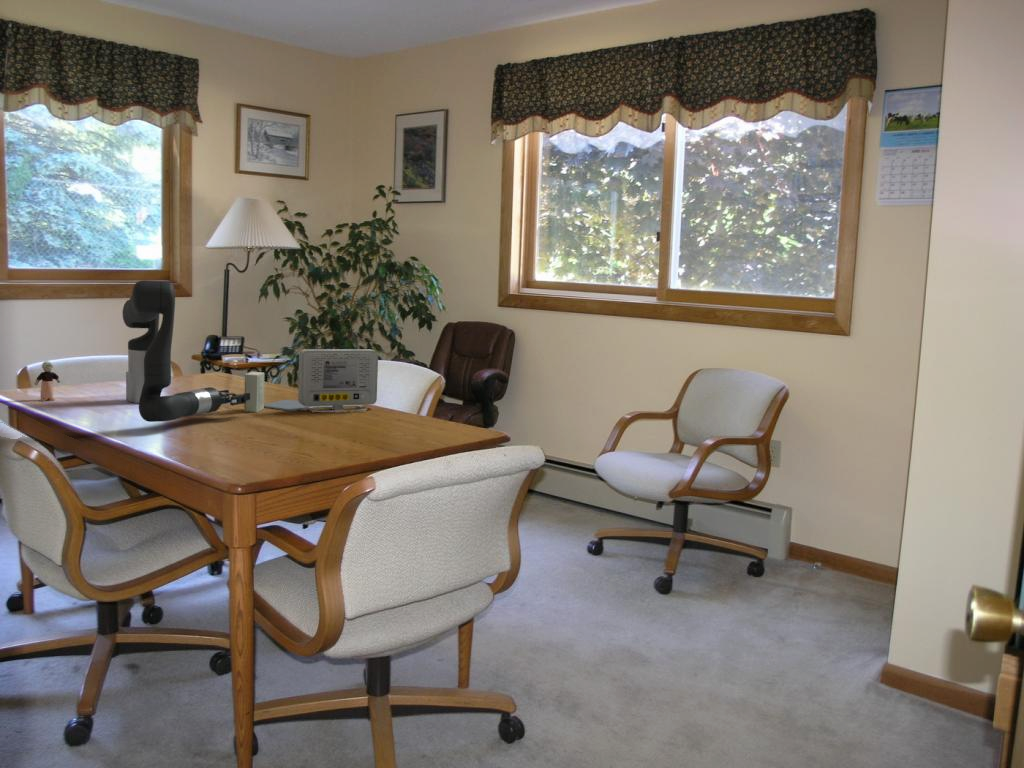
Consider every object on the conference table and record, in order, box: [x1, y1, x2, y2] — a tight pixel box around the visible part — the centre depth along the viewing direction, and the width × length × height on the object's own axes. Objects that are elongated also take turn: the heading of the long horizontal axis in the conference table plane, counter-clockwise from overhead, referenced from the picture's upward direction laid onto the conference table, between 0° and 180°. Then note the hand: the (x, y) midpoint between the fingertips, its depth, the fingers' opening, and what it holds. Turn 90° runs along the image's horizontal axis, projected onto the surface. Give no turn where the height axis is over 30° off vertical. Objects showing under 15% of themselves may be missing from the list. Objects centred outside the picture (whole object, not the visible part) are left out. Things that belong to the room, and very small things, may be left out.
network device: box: [297, 348, 379, 413], centre depth 291 cm, size 26×9×20 cm, turn 117°
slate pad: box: [264, 399, 314, 413], centre depth 293 cm, size 14×14×1 cm
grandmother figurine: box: [34, 360, 61, 402], centre depth 281 cm, size 8×4×13 cm, turn 150°
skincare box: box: [243, 371, 265, 413], centre depth 282 cm, size 6×4×12 cm
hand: (238, 394), depth 276 cm, fingers open, 8 cm apart
